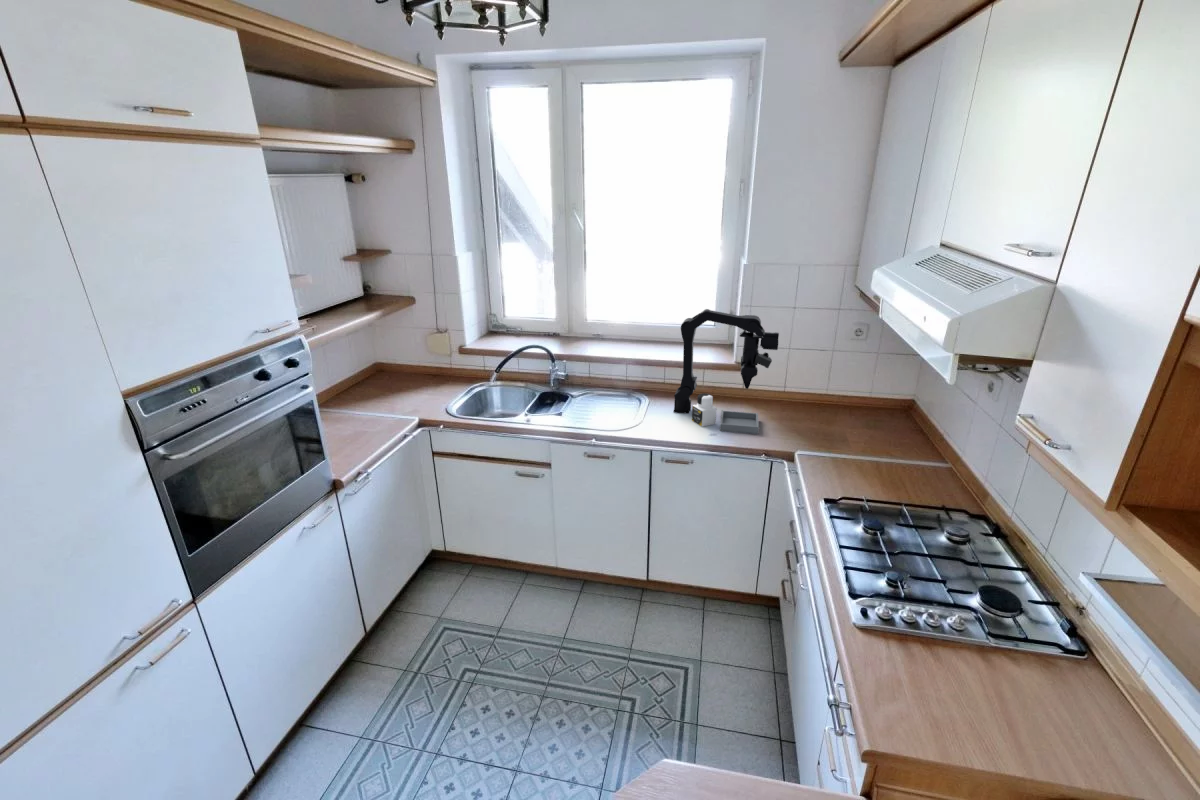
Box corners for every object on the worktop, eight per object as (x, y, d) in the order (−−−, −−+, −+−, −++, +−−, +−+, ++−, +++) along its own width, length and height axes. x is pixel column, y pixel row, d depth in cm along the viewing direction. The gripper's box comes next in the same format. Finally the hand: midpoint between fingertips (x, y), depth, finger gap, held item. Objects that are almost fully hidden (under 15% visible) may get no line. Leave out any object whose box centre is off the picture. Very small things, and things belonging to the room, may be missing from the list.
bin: (719, 430, 221) (720, 423, 220) (721, 417, 234) (721, 410, 233) (758, 434, 218) (758, 427, 217) (757, 420, 231) (757, 413, 230)
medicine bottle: (691, 420, 231) (692, 393, 226) (705, 417, 233) (707, 390, 229) (701, 427, 225) (703, 399, 220) (716, 424, 227) (718, 396, 223)
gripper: (773, 355, 213) (768, 394, 219) (770, 343, 230) (766, 379, 236) (742, 353, 216) (738, 391, 221) (742, 341, 233) (739, 377, 238)
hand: (746, 384), depth 229 cm, fingers open, 9 cm apart
